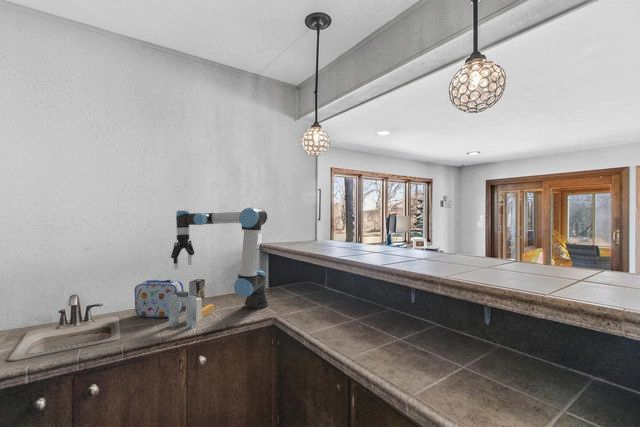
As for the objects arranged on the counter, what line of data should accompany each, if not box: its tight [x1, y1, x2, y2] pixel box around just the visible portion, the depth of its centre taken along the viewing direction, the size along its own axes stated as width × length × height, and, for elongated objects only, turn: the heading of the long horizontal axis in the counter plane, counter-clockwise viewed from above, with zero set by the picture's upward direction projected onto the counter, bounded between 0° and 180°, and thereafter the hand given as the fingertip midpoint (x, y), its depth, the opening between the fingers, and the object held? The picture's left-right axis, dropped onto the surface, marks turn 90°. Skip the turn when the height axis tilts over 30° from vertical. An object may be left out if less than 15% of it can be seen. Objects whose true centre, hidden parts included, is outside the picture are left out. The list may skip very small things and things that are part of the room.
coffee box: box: [188, 278, 206, 305], centre depth 200 cm, size 9×6×16 cm
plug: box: [185, 298, 215, 323], centre depth 179 cm, size 21×6×12 cm, turn 168°
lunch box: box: [134, 279, 185, 319], centre depth 178 cm, size 28×10×22 cm, turn 89°
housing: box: [168, 291, 197, 330], centre depth 162 cm, size 14×4×18 cm, turn 78°
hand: (183, 266), depth 194 cm, fingers open, 13 cm apart
